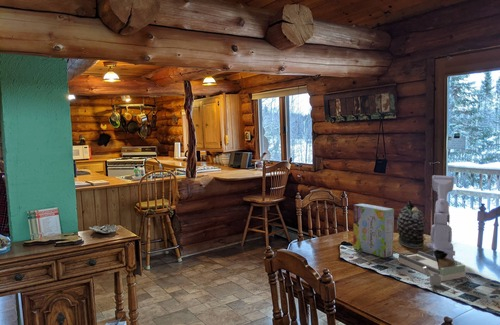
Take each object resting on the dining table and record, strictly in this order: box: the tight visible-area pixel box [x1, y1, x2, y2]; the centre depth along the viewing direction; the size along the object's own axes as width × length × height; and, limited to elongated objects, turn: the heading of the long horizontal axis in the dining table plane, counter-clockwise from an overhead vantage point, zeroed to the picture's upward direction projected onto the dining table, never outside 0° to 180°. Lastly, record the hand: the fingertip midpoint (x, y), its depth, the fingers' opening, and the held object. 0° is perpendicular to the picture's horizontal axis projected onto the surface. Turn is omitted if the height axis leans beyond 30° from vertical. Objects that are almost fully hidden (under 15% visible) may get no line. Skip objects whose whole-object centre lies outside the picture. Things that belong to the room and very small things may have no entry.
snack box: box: [352, 203, 395, 259], centre depth 219 cm, size 22×9×26 cm, turn 34°
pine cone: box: [396, 200, 426, 249], centre depth 232 cm, size 21×15×25 cm
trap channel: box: [397, 250, 466, 282], centre depth 193 cm, size 14×28×6 cm, turn 20°
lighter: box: [423, 266, 442, 287], centre depth 174 cm, size 7×2×8 cm, turn 78°
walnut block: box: [438, 258, 457, 270], centre depth 184 cm, size 5×5×5 cm
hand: (440, 266), depth 188 cm, fingers closed
